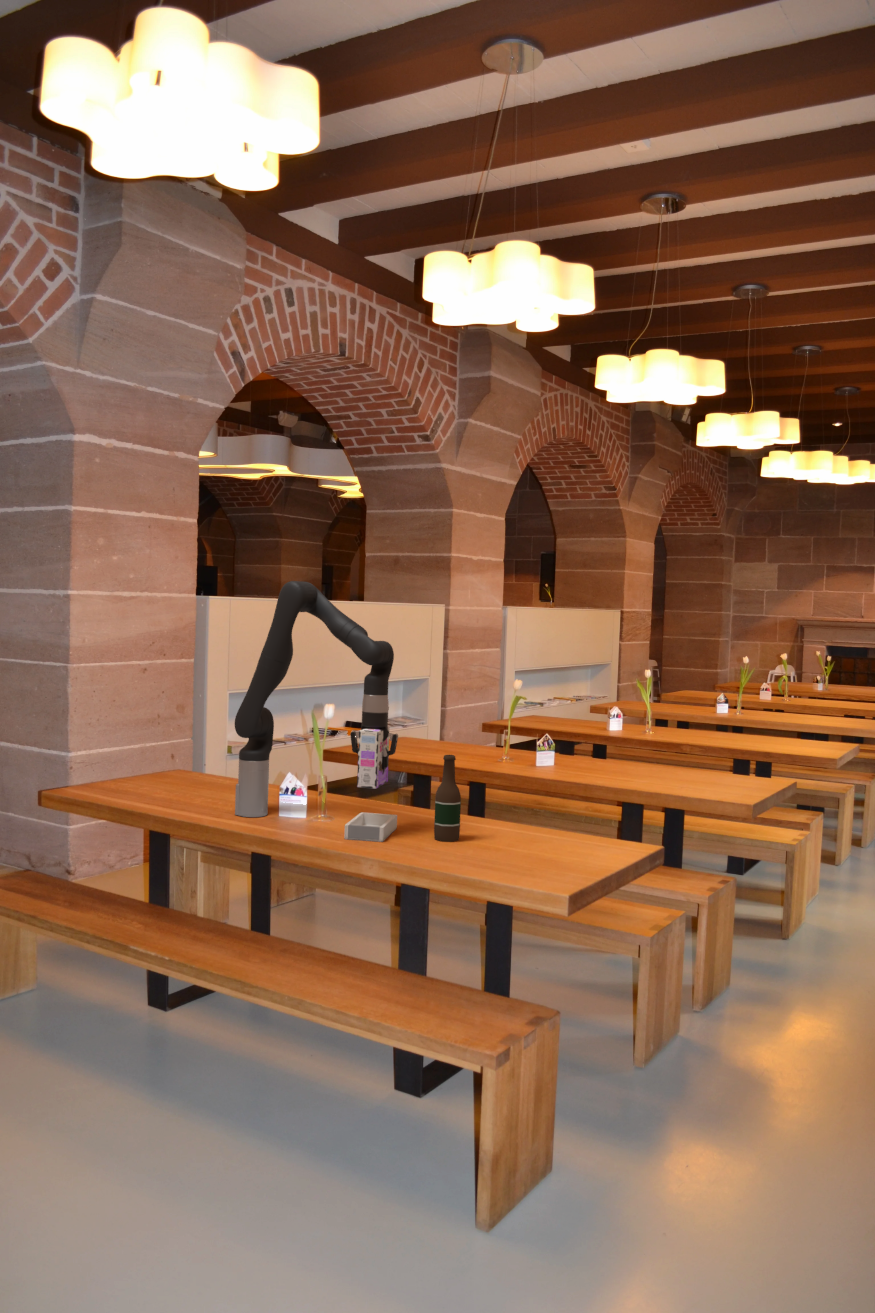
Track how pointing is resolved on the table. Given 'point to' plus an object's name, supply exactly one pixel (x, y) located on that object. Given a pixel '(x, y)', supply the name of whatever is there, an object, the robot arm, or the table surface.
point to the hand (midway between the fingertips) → (373, 768)
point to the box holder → (370, 827)
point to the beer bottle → (447, 804)
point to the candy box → (371, 758)
